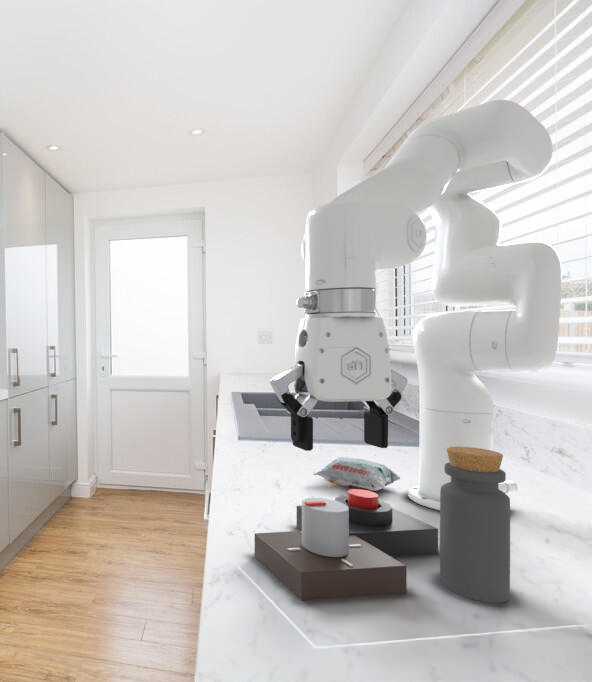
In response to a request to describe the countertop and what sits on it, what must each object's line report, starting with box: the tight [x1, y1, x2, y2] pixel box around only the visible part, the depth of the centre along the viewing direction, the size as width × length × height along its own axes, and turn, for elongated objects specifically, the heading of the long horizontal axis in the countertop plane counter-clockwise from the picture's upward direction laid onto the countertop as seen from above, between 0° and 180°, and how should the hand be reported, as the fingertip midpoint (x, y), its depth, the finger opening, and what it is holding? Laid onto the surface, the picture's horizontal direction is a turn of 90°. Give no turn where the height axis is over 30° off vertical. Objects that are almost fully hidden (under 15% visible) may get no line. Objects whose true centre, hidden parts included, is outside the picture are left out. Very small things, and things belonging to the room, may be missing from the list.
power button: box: [347, 488, 380, 509], centre depth 64 cm, size 4×4×2 cm
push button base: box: [296, 494, 439, 557], centre depth 64 cm, size 13×10×5 cm
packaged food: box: [312, 456, 401, 492], centre depth 87 cm, size 9×12×5 cm
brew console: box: [254, 530, 408, 602], centre depth 55 cm, size 12×10×3 cm
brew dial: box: [301, 497, 349, 557], centre depth 55 cm, size 5×5×5 cm
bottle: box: [439, 447, 511, 604], centre depth 51 cm, size 6×6×15 cm
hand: (339, 446), depth 58 cm, fingers open, 9 cm apart
